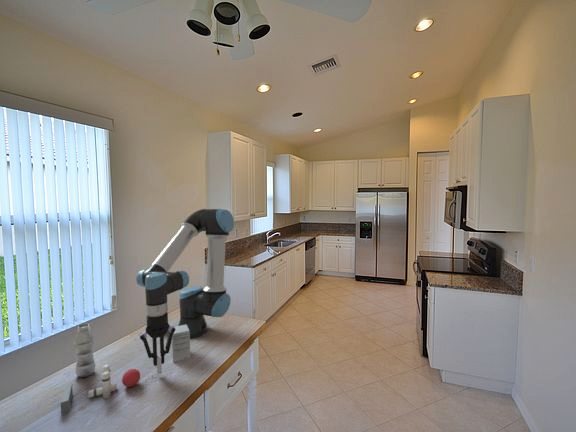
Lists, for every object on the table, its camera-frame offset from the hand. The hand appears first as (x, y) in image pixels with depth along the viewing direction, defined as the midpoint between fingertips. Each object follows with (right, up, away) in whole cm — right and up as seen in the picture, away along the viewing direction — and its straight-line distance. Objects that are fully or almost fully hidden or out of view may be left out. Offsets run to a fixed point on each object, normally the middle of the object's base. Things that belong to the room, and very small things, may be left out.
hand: (159, 372), depth 113 cm
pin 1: (-16, -2, -7) cm, 18 cm away
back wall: (-25, -3, -15) cm, 29 cm away
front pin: (-12, -1, -7) cm, 14 cm away
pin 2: (-14, -3, -11) cm, 18 cm away
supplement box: (+3, -1, +15) cm, 15 cm away
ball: (-8, +1, -5) cm, 10 cm away
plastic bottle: (-30, -2, +2) cm, 30 cm away
